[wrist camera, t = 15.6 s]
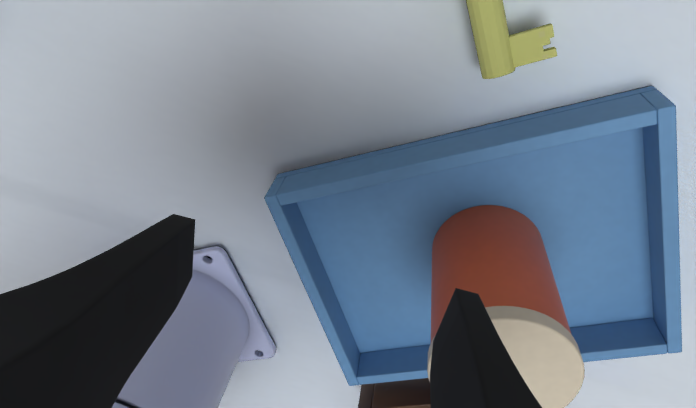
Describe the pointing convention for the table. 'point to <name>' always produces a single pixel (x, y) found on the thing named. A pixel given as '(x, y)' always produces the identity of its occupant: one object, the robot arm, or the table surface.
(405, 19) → the table surface
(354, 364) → the tray
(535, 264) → the snack tub
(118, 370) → the robot arm
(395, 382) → the compartment box
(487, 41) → the key
